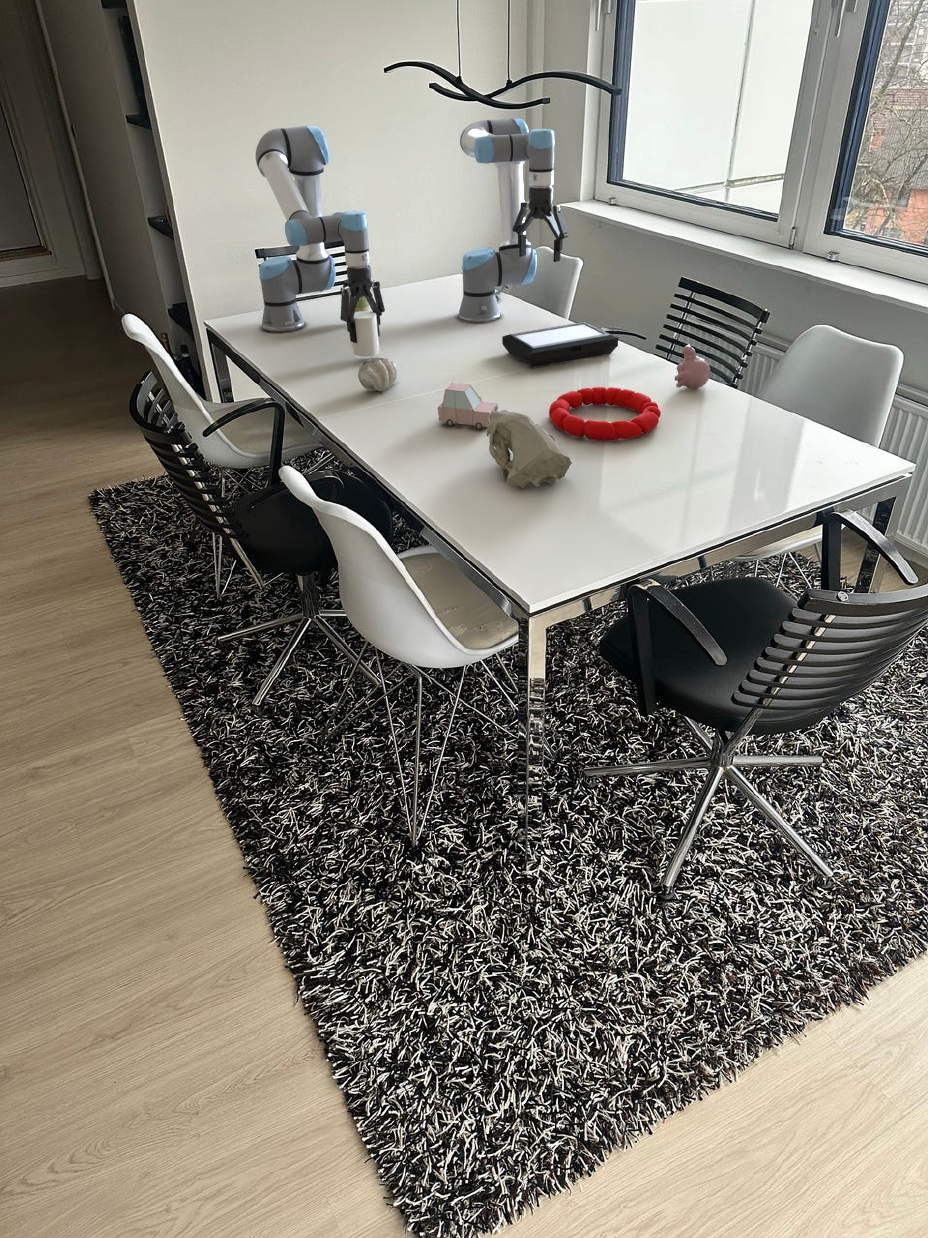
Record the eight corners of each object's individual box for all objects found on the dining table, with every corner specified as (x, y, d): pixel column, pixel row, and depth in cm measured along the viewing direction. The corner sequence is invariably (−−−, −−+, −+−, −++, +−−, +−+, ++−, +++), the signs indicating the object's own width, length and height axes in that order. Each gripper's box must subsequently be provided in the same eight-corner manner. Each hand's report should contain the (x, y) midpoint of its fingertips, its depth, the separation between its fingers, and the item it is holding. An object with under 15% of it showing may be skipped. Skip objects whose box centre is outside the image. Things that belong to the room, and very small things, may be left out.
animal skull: (496, 517, 219) (521, 479, 201) (463, 429, 225) (484, 384, 207) (557, 503, 225) (586, 465, 206) (523, 417, 231) (549, 373, 212)
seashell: (350, 390, 269) (347, 357, 264) (395, 380, 275) (392, 348, 270) (364, 400, 262) (360, 367, 256) (409, 390, 268) (407, 357, 262)
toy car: (488, 432, 240) (488, 396, 234) (436, 426, 244) (434, 390, 239) (499, 419, 247) (499, 384, 241) (448, 413, 252) (447, 379, 246)
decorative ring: (589, 435, 224) (684, 402, 234) (527, 398, 247) (617, 369, 256) (589, 461, 229) (683, 427, 238) (529, 422, 251) (617, 393, 260)
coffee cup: (372, 326, 323) (368, 283, 314) (345, 327, 323) (340, 284, 315) (374, 318, 331) (371, 276, 322) (348, 319, 331) (344, 277, 323)
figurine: (665, 387, 264) (669, 347, 257) (693, 380, 268) (698, 340, 261) (686, 396, 257) (690, 355, 250) (714, 388, 262) (720, 348, 255)
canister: (348, 354, 291) (344, 316, 284) (362, 347, 297) (359, 309, 290) (370, 357, 287) (366, 319, 280) (384, 350, 293) (381, 312, 286)
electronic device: (530, 350, 276) (502, 333, 291) (530, 370, 279) (502, 352, 294) (618, 335, 286) (586, 319, 301) (617, 354, 290) (585, 338, 305)
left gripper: (336, 273, 269) (344, 348, 282) (392, 261, 280) (398, 333, 293) (323, 269, 274) (331, 343, 286) (378, 257, 285) (384, 329, 297)
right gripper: (501, 184, 279) (501, 255, 291) (567, 191, 266) (564, 265, 278) (516, 180, 284) (515, 251, 296) (581, 187, 270) (578, 260, 282)
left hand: (365, 338), depth 290 cm, fingers closed on canister, 8 cm apart
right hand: (539, 258), depth 287 cm, fingers open, 13 cm apart
